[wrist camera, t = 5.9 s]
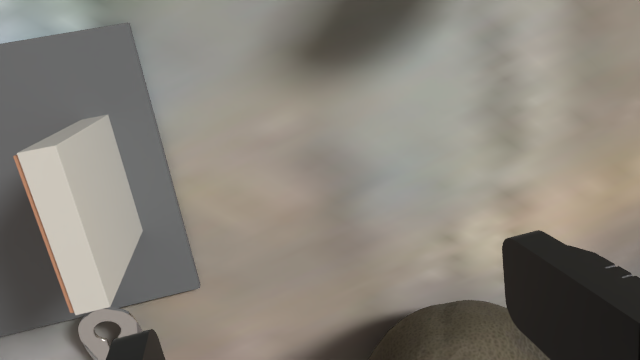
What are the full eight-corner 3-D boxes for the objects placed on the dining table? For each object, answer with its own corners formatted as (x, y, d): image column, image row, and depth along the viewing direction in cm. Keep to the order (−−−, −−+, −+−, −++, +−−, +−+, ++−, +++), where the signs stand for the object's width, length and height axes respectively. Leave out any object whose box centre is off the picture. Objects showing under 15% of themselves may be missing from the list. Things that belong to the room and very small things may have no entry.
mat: (200, 284, 31) (199, 287, 31) (-36, 341, 29) (-40, 346, 29) (129, 23, 26) (127, 22, 26) (-157, 71, 25) (-164, 71, 24)
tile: (142, 230, 29) (110, 307, 20) (115, 236, 29) (70, 316, 20) (108, 114, 27) (56, 145, 18) (78, 120, 27) (10, 154, 18)
